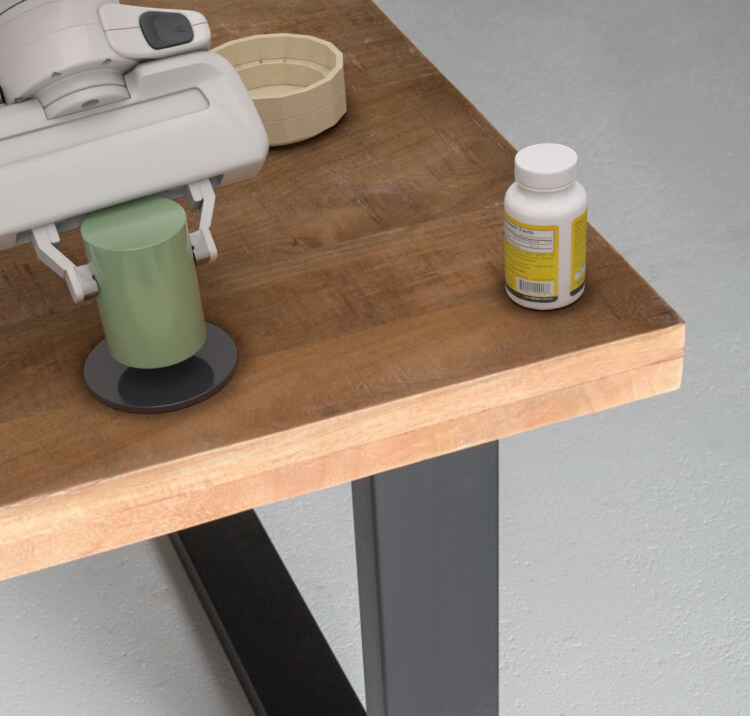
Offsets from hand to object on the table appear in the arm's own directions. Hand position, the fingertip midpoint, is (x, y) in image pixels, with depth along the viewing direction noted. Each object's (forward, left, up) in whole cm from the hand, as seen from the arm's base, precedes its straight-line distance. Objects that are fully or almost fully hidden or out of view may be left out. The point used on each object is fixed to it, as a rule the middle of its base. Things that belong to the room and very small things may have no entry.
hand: (148, 279), depth 87 cm
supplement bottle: (+26, -3, -7) cm, 27 cm away
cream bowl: (+19, +31, -7) cm, 37 cm away
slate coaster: (0, +1, -7) cm, 7 cm away
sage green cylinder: (0, +1, -5) cm, 5 cm away
